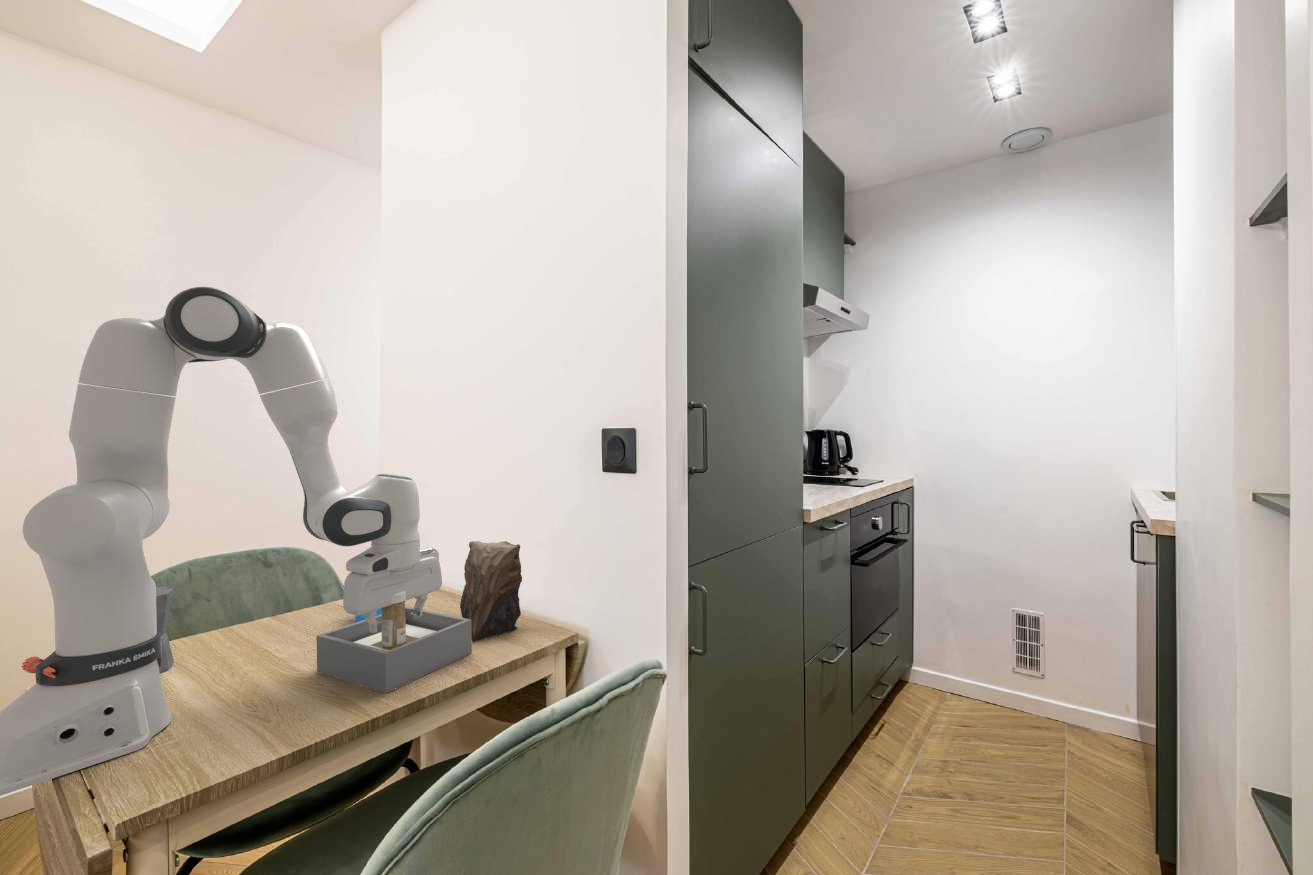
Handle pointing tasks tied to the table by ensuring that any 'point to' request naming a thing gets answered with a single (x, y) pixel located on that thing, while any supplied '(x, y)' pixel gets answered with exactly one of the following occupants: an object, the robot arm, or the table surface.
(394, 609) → the sprinkles bottle
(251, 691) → the table surface
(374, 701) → the table surface
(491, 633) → the owl
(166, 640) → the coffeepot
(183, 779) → the table surface
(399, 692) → the table surface
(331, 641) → the box
